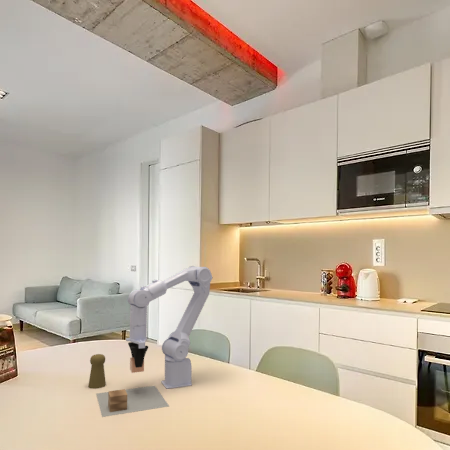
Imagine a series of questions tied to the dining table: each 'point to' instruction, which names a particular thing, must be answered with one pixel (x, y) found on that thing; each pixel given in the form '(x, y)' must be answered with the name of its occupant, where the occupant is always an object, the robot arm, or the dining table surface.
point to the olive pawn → (97, 372)
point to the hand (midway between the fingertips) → (137, 365)
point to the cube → (133, 367)
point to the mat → (134, 401)
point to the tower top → (117, 396)
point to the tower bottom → (117, 406)
